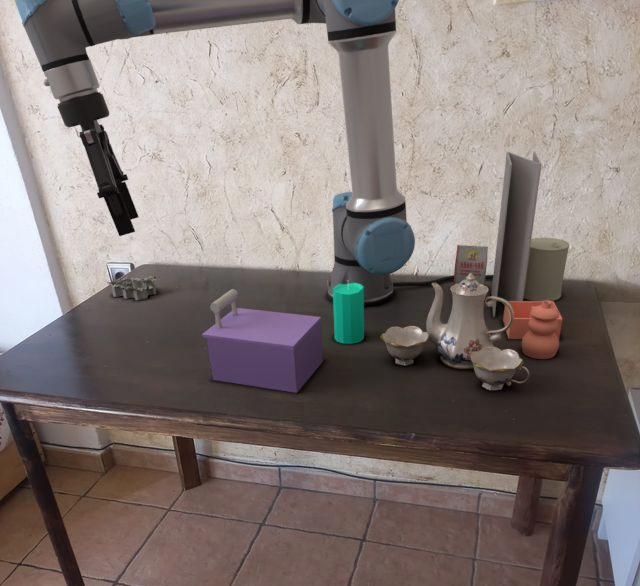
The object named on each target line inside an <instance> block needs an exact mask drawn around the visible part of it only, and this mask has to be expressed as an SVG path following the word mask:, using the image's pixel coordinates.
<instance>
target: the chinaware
mask: <svg viewBox="0 0 640 586" xmlns="http://www.w3.org/2000/svg"><path fill="white" fill-rule="evenodd" d="M474 279H475V277H474V276H473V274H472V273H470V274H469V275H468V276H467V277H466V280H463V281H462V282H461V283H460V284H455V285H454V284H453V285H454V286H453V285H451V286H450V291H451V296H452V303H451V304H452V305H451V311H450V315H449V318H448V320H447V323H443V322H442V320H441V314H442V308H443V303H444V291H443V288H442V286H440V284H439V283H432V285H431V286H432V287H433V289H434V299H433V301H432V303H431V307H430V310H429V312H428V314H427V318H426V323H425V324H426V325H425V327H426V329H425V330H426V331H423V330H422V329H421V328H420V327H419V326H417V325H408V326H405V327H400V326H398V325H397V326H396V325H394V326H389V327H388V328H387V329H386V330H385V332H384V333H381V335H379V336H380V339H381V340H382V341H383V342H384V344H385V347H386V350H387V352H388V354H389V355H390V356H391V357H392V358H394V360H395V361H394V362H395V364H397V365H400V366H405V367H406V366H409V365H412V364H414V359H416V358H417V357H418V356H419V355H421V353H422V351H423V350H424V346H425V344H426V342H427V341H428V340H430V341H431V342H432V343H433V344H434V345H435V351H436V353H437V354H438V355H439V359H440V362H441V363H442V364H444V365H445V366H448V367H449V368H453V369H459V370H472V369H473V371H474V373H475V376H476V378H478V380H479V381H481V382H482V385H481V387H483V388H485V389H486V390H489V391H499V390H502V389H503V387H504V385H505V384H506V385H507V387H510V386H511V385H512V382H514V383H516V384H525V383H526V382H527V381H528V380H529V379H530V371H529V369H528V368H527V367H526V366H523V364H524V359H523V358H521V357H520V354H519V352H517V351H516V350H515V349H511V348H505V349H501V348H499V347H497V346H495V345H494V343H498V342H499V341H501V339H502V334H501V333H504V332H506V330H507V329H508V328H509V327H510V326H511V325H512V323H513V320H514V311H513V308H512V306H511V305H510V304H509V302H507V301H506V300H505V299H503V298H499V297H494V296H492V295H491V296H487V294H488V292H489V288H488V286H486V285H485V286H484V285H482V284H479V282H478V281H476V280H474ZM492 299H493V300H496V302H499V303H502V304H503V305H504V304H505V305H506V306H507V308H508V309H509V311H510V321H509V323H508V325H507V326H506V327H505V326H504V327H502V328H500V329H493V330H489V329H488V327H487V325H486V322H485V315H484V307H485V305H486V306H487V307H488V308H493V301H492ZM505 305H504V306H505ZM522 369H523V370H524V371H525V372H526V376H527V377H526V378H525V379H524V380H523V381H517V380H516V379H512V378H513V377H514V376H515V374H516V372H517V371H518V370H519V371H522Z"/></svg>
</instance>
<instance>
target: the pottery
mask: <svg viewBox="0 0 640 586" xmlns="http://www.w3.org/2000/svg"><path fill="white" fill-rule="evenodd" d="M507 302H509V304H510V305H511V306H512V308H513V311H514V320H513V323H512V325H511V326H510V327H509V328H508V329H507V330H506V331H505V332H506V335H507V338H508V340H521V349H522V353H523V354H524V356H527V357H529V358H532V359H536V360H549V359H551V358H554V357H555V356H556V354H557V352H558V350H559V347H560V335H561V330H562V326H563V317H562V315H561V313H560V311H559V309H558V307H557V305H556V302H555V300H554V301H531V300H523V301H507ZM502 321H503V325H504V327H506V326H507V325H508V323H509V321H510V311H509V309H508V308H507V306H506V305H504V311H503V319H502Z"/></svg>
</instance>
